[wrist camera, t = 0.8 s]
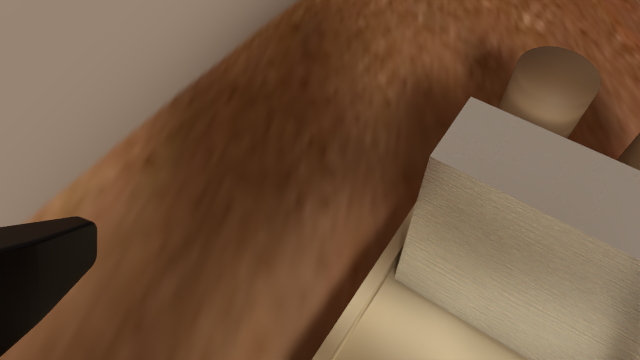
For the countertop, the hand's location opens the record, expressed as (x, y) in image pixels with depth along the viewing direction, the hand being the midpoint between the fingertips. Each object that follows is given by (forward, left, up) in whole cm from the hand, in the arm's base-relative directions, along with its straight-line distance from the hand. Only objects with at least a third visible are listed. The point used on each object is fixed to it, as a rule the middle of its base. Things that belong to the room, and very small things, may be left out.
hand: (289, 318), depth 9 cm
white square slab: (+2, -10, -13) cm, 16 cm away
